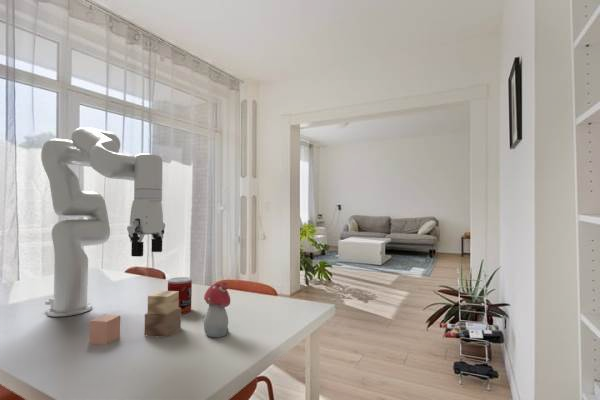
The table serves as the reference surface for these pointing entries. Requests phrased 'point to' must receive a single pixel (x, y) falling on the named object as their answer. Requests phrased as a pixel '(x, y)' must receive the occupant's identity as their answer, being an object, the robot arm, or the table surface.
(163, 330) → the walnut base
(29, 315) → the table surface
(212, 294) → the decorative ornament
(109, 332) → the terracotta block
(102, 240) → the robot arm
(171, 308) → the oak block
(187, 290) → the canned food
